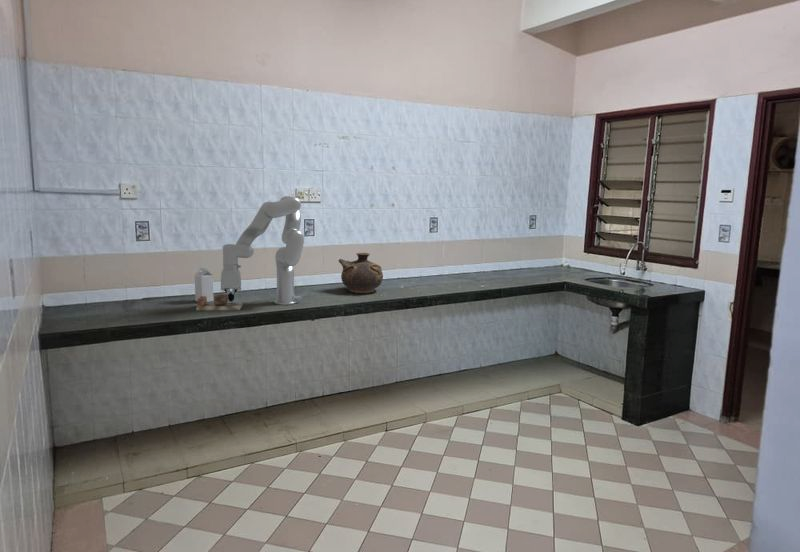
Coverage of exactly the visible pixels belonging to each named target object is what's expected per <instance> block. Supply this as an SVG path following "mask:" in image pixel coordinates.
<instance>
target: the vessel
mask: <svg viewBox="0 0 800 552" xmlns="http://www.w3.org/2000/svg"><path fill="white" fill-rule="evenodd" d="M356 255H357V260H352V261H350V260H345V259H342V258H339V259H338V263H339V264H340V265H341V267H342V272H341V274H340V276H341V282H342V284H343V285H344V286H345V287H346V288H347V289H348V290H349V292H351V293H353V292H355V294H370V293H371V292H372V293H374V292H375V290H376V289H377V288H379V286H381V285H382V282H383V280H384V274H383V270H382V266H380V264H377V263H375V262H373V261H371V260H368V257H369V256H370V255H371V253H368V252H356Z"/></svg>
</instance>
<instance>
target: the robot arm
mask: <svg viewBox="0 0 800 552" xmlns="http://www.w3.org/2000/svg"><path fill="white" fill-rule="evenodd" d="M301 207H302V202H301V200H300V199H299V198H298V197H296V196H289V195H288V196H287V195H286V196H282V197H281V198H280V199H279V200H278V201H265V202H264V203H263V204H261V206H260V208H259V209H258V211H257V212H256V214H255V216H254V218H253V220H252V221H251V223H250V224H249V225H248V226H247V227H246V229H245V230H244V231H243V232H242V233H241V234H240V236H239V238H238V239H237V241H236V243H234V244H233V243H227V244H223V246H222V270H221V275H220V291H223V292H225V293H226V294H227V295H228V303H234V300H235V294H236V293H237V292H240V291H241V290H242V278H241V271H240V269H241V268H242V267H241V265H239V258H242V259H249V258H251V257H252V256H253V255H254V251H255V250H254V248H253V246H251V245H252V244H253V242H254V241H255V240H256V239H257V238H258V237H259V236H261V235H263V234H264V233H265V232H267V229H268V228H269V225H270V224H271V222H272V220H273V219H277V218H282V217H285V221H284V226H283V228H282V229H283V230H282V234H281V242H282V243H283V244H285V246H283V247H280V248H278V249H277V250H276V252H275V257H274V258H275V265H276V299H274V300H273V303H274V304H276V305H282V306H283V305H284V306H285V305H286V306H289V305H295V304H296V303H297V300H298V301H301V300H303V296H301V295H296V294H295V268H294V267H295V266H297V265H298V263H299V262H300V260H301V256H302V251H303V248H304V244H305V238H304V237H305V236H304V234H303V232H301V231H300V228H301V223H302V215H301V211H300V209H301Z"/></svg>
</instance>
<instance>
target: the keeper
mask: <svg viewBox="0 0 800 552" xmlns="http://www.w3.org/2000/svg"><path fill="white" fill-rule="evenodd" d="M213 303H214V304H215V305H227V303H229V300H228V294H227V293H226V294H224V293H223V294H219V293H216V294H215V295H213Z"/></svg>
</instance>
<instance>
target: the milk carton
mask: <svg viewBox="0 0 800 552" xmlns="http://www.w3.org/2000/svg"><path fill="white" fill-rule="evenodd" d="M201 296H207V303H212V302H214V275H213V274H212V273H211V272H210V271H208V268H205V267H202V266H200V267H199V269H198V271H197V272H196V273H195V274H194V298H195V299H194V300H195V302H197V303H198V299H199V298H200V297H201Z"/></svg>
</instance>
